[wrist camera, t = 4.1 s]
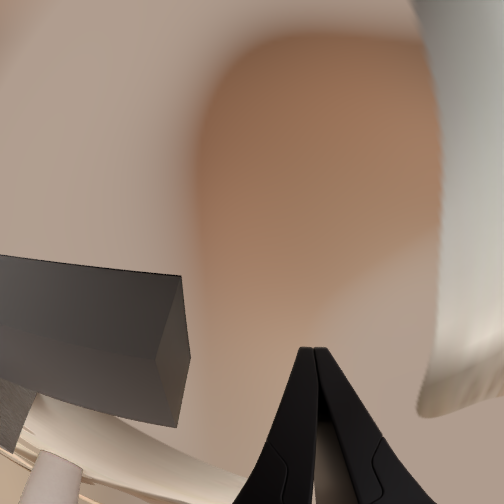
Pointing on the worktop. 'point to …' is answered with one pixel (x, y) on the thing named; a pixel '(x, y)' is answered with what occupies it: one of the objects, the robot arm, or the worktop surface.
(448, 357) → the worktop surface
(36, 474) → the coffee cup
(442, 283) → the worktop surface
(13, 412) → the long gray rectangular block
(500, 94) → the worktop surface
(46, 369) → the bar
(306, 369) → the robot arm
